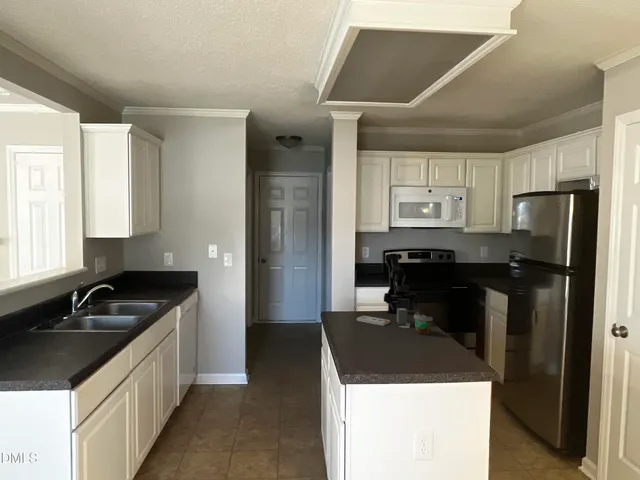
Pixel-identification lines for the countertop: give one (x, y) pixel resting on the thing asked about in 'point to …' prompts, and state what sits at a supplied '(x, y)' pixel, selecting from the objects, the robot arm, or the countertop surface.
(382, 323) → the power strip
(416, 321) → the food container
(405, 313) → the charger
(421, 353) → the countertop surface
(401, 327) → the mat
